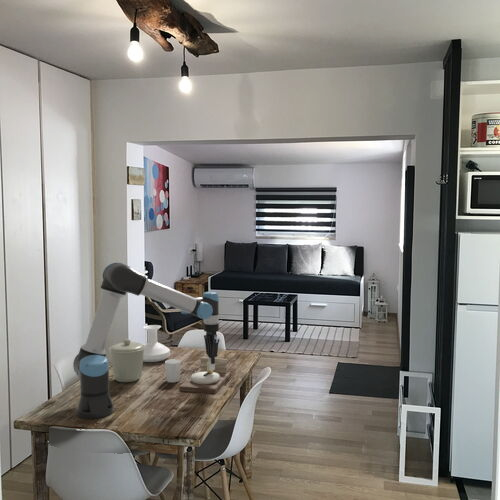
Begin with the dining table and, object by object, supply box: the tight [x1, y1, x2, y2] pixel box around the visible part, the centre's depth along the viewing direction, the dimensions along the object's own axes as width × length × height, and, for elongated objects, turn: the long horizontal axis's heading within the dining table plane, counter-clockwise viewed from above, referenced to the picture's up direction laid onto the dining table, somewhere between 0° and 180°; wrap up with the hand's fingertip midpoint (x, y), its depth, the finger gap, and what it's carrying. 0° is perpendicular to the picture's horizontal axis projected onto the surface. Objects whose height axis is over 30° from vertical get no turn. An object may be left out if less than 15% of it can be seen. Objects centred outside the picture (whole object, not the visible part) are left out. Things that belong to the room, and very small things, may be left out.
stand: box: [178, 356, 232, 394], centre depth 262 cm, size 27×18×9 cm, turn 166°
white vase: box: [142, 324, 171, 363], centre depth 304 cm, size 20×20×19 cm
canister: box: [108, 338, 145, 383], centre depth 268 cm, size 18×18×21 cm
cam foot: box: [190, 362, 220, 384], centre depth 260 cm, size 14×14×8 cm
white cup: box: [164, 358, 182, 384], centre depth 266 cm, size 8×8×10 cm
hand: (211, 369), depth 262 cm, fingers closed
